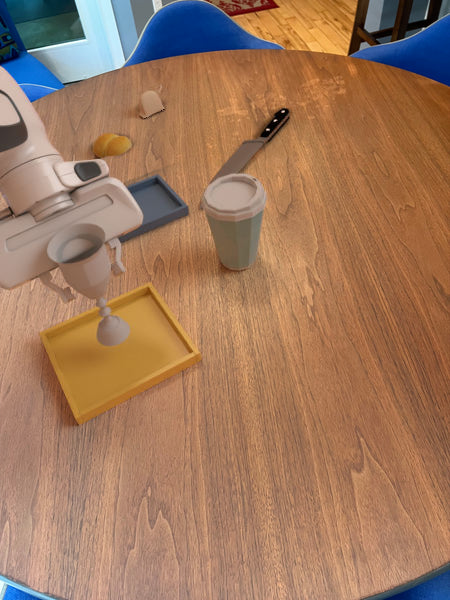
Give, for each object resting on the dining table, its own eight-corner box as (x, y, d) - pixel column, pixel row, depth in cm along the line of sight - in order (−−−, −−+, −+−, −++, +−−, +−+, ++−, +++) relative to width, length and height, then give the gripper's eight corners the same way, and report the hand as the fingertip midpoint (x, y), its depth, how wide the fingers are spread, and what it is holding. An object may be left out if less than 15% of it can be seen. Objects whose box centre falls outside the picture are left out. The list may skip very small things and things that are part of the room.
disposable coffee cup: (228, 288, 82) (222, 219, 70) (197, 253, 88) (186, 185, 77) (278, 262, 85) (280, 193, 74) (245, 230, 91) (242, 162, 80)
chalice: (113, 359, 68) (75, 271, 54) (79, 340, 71) (34, 251, 57) (146, 324, 72) (117, 233, 58) (112, 307, 75) (77, 216, 61)
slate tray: (117, 244, 91) (115, 236, 90) (92, 208, 99) (89, 200, 98) (189, 214, 96) (188, 206, 94) (159, 181, 104) (158, 173, 102)
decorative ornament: (135, 114, 124) (131, 94, 120) (162, 102, 127) (158, 82, 123) (144, 119, 122) (139, 99, 118) (170, 108, 125) (167, 87, 121)
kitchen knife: (185, 209, 98) (182, 200, 96) (272, 114, 120) (271, 106, 118) (207, 214, 95) (204, 204, 94) (292, 116, 117) (291, 107, 116)
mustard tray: (79, 425, 67) (75, 418, 65) (42, 340, 77) (38, 332, 75) (201, 360, 72) (200, 352, 71) (152, 289, 83) (150, 281, 81)
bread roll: (120, 165, 109) (115, 150, 106) (89, 157, 112) (84, 141, 109) (140, 147, 113) (137, 131, 110) (110, 139, 117) (106, 124, 114)
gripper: (-43, 222, 55) (20, 327, 57) (115, 155, 62) (166, 250, 64) (-36, 232, 61) (22, 327, 62) (108, 169, 68) (155, 256, 70)
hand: (96, 287), depth 63 cm, fingers closed on chalice, 6 cm apart
